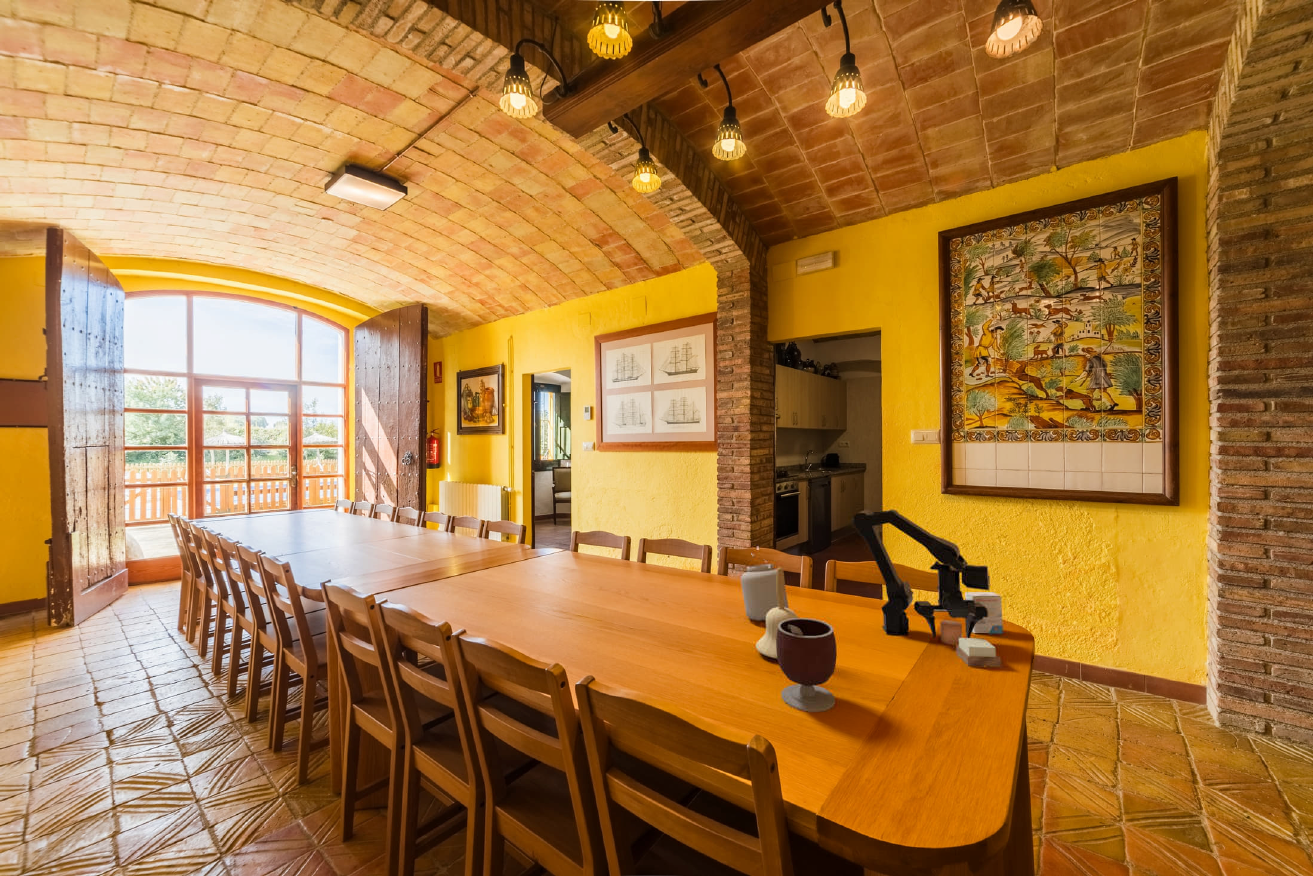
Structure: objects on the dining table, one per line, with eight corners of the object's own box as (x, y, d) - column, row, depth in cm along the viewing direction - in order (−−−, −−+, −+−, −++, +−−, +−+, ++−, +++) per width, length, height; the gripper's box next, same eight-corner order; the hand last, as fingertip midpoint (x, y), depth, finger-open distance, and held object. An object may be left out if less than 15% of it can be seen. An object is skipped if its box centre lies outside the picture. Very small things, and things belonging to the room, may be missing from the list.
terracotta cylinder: (944, 645, 153) (944, 626, 153) (938, 638, 158) (937, 620, 158) (965, 645, 152) (964, 627, 152) (957, 638, 157) (957, 620, 157)
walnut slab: (968, 668, 138) (967, 656, 138) (956, 656, 146) (956, 645, 146) (1001, 669, 137) (1000, 658, 137) (987, 657, 144) (987, 646, 144)
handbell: (766, 640, 161) (763, 559, 161) (815, 648, 153) (812, 564, 153) (748, 658, 148) (745, 570, 148) (801, 669, 140) (798, 576, 140)
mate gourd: (793, 680, 133) (790, 602, 134) (847, 695, 125) (843, 612, 125) (764, 704, 121) (761, 619, 122) (822, 723, 113) (818, 631, 113)
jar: (730, 614, 186) (727, 545, 186) (762, 607, 193) (760, 540, 193) (764, 630, 169) (761, 554, 169) (798, 622, 176) (795, 548, 176)
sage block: (969, 656, 138) (968, 646, 138) (959, 646, 145) (958, 637, 145) (995, 657, 137) (995, 647, 137) (984, 647, 144) (984, 638, 144)
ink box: (994, 628, 164) (993, 591, 164) (1003, 634, 159) (1001, 595, 159) (966, 628, 165) (964, 591, 165) (974, 634, 160) (972, 595, 160)
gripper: (924, 592, 149) (926, 646, 149) (995, 593, 145) (998, 649, 145) (912, 582, 160) (914, 632, 160) (978, 583, 156) (980, 634, 156)
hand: (951, 637), depth 155 cm, fingers open, 9 cm apart
